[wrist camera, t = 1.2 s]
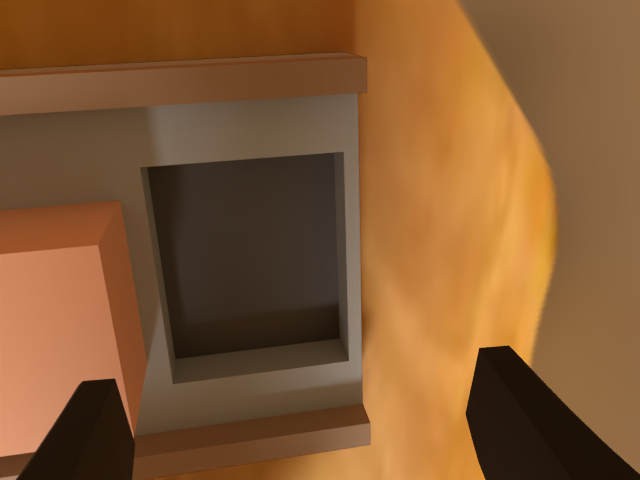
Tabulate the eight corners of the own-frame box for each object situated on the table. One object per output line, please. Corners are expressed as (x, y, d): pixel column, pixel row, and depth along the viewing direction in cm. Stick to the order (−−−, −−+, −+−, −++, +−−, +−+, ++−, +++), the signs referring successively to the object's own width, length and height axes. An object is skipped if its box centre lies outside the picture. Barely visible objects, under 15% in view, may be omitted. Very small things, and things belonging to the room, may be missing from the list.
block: (147, 363, 21) (133, 437, 17) (-20, 384, 20) (-72, 467, 16) (120, 200, 19) (98, 245, 15) (-68, 216, 18) (-141, 267, 14)
